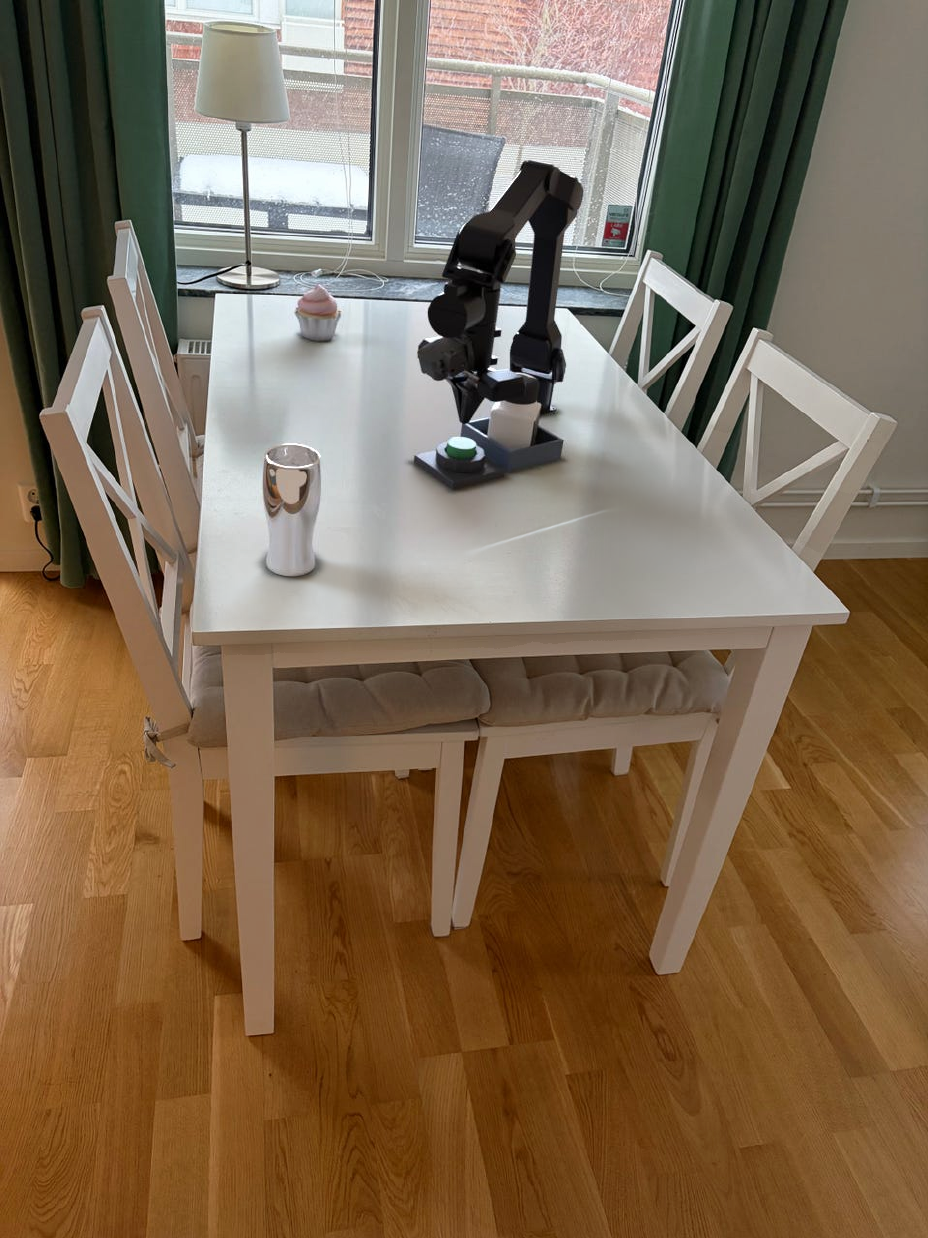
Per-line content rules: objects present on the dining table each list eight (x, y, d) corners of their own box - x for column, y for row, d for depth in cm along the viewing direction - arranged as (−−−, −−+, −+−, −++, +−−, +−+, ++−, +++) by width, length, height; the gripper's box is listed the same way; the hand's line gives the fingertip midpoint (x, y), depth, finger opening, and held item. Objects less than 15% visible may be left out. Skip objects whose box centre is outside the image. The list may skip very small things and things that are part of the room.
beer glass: (265, 548, 128) (264, 440, 119) (319, 551, 129) (323, 444, 120) (260, 577, 122) (259, 466, 114) (317, 580, 123) (321, 470, 115)
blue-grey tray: (512, 430, 167) (515, 411, 166) (560, 459, 160) (563, 440, 158) (459, 441, 161) (462, 422, 159) (507, 473, 154) (510, 452, 152)
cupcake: (300, 324, 199) (301, 274, 193) (346, 332, 198) (348, 281, 193) (287, 339, 191) (287, 287, 185) (334, 347, 190) (336, 294, 185)
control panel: (464, 451, 159) (466, 432, 157) (504, 477, 152) (506, 458, 151) (413, 462, 153) (415, 443, 151) (452, 490, 147) (454, 470, 145)
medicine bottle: (528, 461, 157) (540, 389, 150) (484, 452, 158) (494, 380, 151) (535, 443, 163) (546, 373, 156) (492, 435, 164) (502, 365, 157)
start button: (463, 444, 154) (464, 434, 153) (480, 456, 151) (482, 445, 150) (440, 450, 151) (441, 439, 150) (457, 461, 149) (459, 451, 148)
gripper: (391, 304, 141) (384, 407, 150) (472, 348, 129) (459, 458, 138) (453, 296, 147) (443, 396, 156) (536, 338, 135) (519, 443, 144)
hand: (463, 422), depth 148 cm, fingers closed
